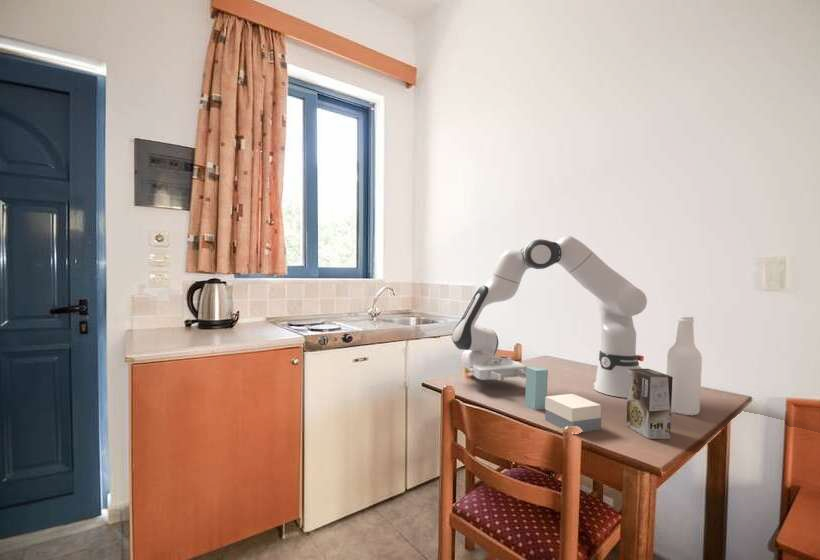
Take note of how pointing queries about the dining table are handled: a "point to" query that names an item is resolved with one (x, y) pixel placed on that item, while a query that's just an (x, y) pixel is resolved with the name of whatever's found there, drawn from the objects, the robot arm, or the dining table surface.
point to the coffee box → (649, 403)
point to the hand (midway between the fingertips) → (513, 376)
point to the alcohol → (685, 369)
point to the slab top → (572, 407)
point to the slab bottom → (583, 424)
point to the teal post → (536, 387)
